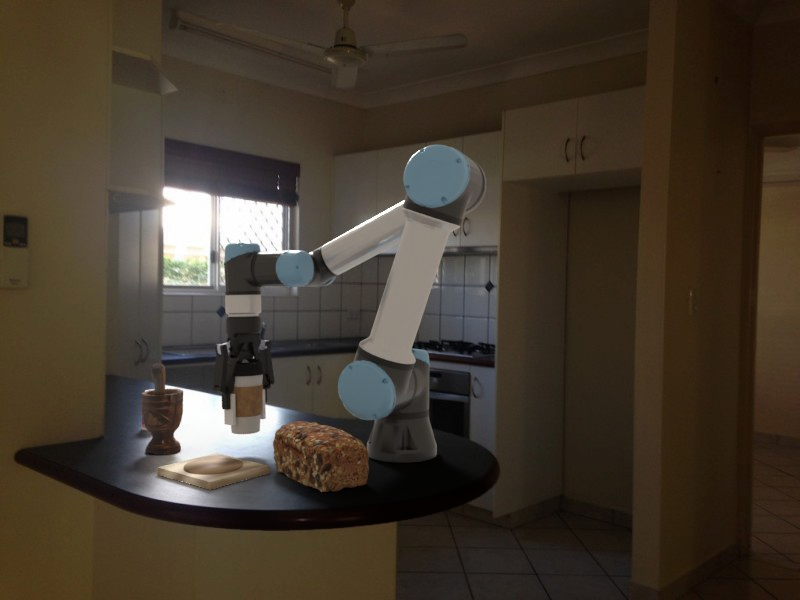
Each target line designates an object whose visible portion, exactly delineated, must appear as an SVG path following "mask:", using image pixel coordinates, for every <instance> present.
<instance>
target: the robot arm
mask: <svg viewBox="0 0 800 600" xmlns="http://www.w3.org/2000/svg"><path fill="white" fill-rule="evenodd" d="M485 174H486V173H485V171H484V170H483V168H482V167H481V165H480V164H479V163H478V162H477V161H475V159H472V158H471V157H469V156H467V155H465V154H464V153H463V152H462V151H461V150H459V149H457V148H454V147H453V146H447V145H444V144H431V145H427V146H425V147H423V148H421V149H419V150H418V151H416V152H415V153H414V154H413V155H412V156H411V157H410V158H409V160H408V161H407V163H406V166H405V168H404V172H403V186H404V189H405V192H406V194H405V197H404V200H402V201H400V202H399V203H397V204H395V205H393V206H391V207H389V208H387V209H386V210H384V211H382V212H380V213H379V214H377V215H375V216H373V217H372V218H370V219H367V220H366V221H364V222H362V223H360V224H359V225H356V226H355V227H354V228H352V229H350V230H348V231H346V232H345V233H343V234H341V235H339V236H338V237H335V238H333V239H332V240H330V241H328V242H327V243H324V244H323V245H322V246H319V247H317V248H315V249H314V250H312V251H309V252H307V251H305V250H299V249H298V250H297V249H287V250H276V251H275V250H274V251H261V246H260V244H258V243H257V242H231V243H228V244H227V245H226V246H225V248H224V262H223V266H224V267H223V268H224V285H225V286H224V287H225V293H224V298H225V299H224V300H225V303H224V305H225V307H224V308H225V314H226V315H228V316H226V317H225V333H226V334H227V338H226V341H225V342H224V343H216V344H214V350H215V355H216V356H215V365H214V375H213V385H212V386H213V387H212V390H213V392H215V393H216V392H217V393H218V394H220V395H221V408H222V410H224V411H223V412H224V414H223V415H224V417H223V418H224V425H227V426H231V425H236V409H235V394H231V393H232V390H233V387H234V383H235V376H234V373H235V367H236V365H240V364H241V363H243V362H244V360H246V361H247V362H249V364H250V363H256V362H259V361H263V366H264V370H265V371H264V373H265V374H263V380H262V384H263V393H262V406H261V417H260V420H265V419H266V418H267V416H266V403H267V402H268V390H269V389H271V386H272V385H274V384H275V376H274V375H275V374H274V369H273V359H272V353H271V349H272V340H265V339H262V338H261V336H260V334H261V332H262V331H263V329H262V327H263V325H262V317H261V316H260V315H259V314H261V313H262V294H261V292H262V288H268V287H269V288H288V287H289V288H293V287H294V288H299V287H303V288H304V287H305V288H306V287H307V288H308V287H310V288H322V287H326V286H329V285H331V284H332V283H333V282H334V281H335V280H336V278H337V277H339V275H341V274H343V273H345V272H347V271H349V270H351V269H352V268H354V267H357V266H359V265H361V264H362V263H364V262H367V261H368V260H369V259H372V258H374V257H375V256H377V255H379V254H381V253H384V252H385V251H387V250H389V249H391V248H393V247H394V246H397V245H398V246H397V249H396V252H395V253H396V254H395V256H394V259H393V262H392V265H391V269H390V272H389V275H388V277H387V280H386V284H385V286H384V287H385V288H384V291H383V294H382V296H381V300H380V303H379V306H378V309H377V312H376V315H375V319H374V322H373V326H372V328H371V331H370V334H369V336H368V337H367V338H365V339H362V340H361V341H360V342H359V343H358V346H357V349H356V353H355V356H354V358H353V361H352V362H350V363H349V364H347V365H346V367H345V368H343V370H342V371H341V373H340V375H339V376H338V377H339V378H338V382H337V392H338V396H339V399H340V400H341V402H342V404H343V406H344V408H345V409H346V410H347V411H348V412H349V413H350V414H351V415H352V416H353V417H355V418H358V419H360V420H363V421H364V420H365V421H373V420H374V421H373V423H372V424H373V425H372V428H371V431H370V433H369V437H368V440H367V443H366V448H367V450H368V453H369V458H370V459H373V460H375V461H376V460H377V461H381V462H387V463H406V464H407V463H420V462H425V461H429V460H432V459H435V458H436V457H437V455H438V453H437V451H438V449H437V448H438V447H437V442H436V439H435V434H434V431H433V428H432V424H431V421H430V371H431V369H430V368H431V363H430V356H429V352H428V351H427V350H425V349H419V348H413V346H414V342H415V339H416V337H417V334H418V330H419V329H420V328H419V327H420V325H421V323H422V322H421V321H422V319H423V316H424V313H425V310H426V306H427V303H428V299H429V296H430V293H431V291H432V287H433V285H434V282H435V279H436V276H437V273H438V270H439V266H440V263H441V260H442V257H443V255H444V253H445V252H444V251H445V249H446V245H447V243H448V239H449V236H450V234H451V233H452V232H455V231H456V230H458V229H460V228H461V226H462V222H463V221H464V220H463V219H464V216H466V215H467V214H469V213H471V212H472V211H474V210H476V208H478V206H480V204H481V203H482V201H483V199H484V197H485V196H486V192H487V178H486V175H485Z"/></svg>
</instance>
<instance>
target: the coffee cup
mask: <svg viewBox="0 0 800 600" xmlns="http://www.w3.org/2000/svg"><path fill="white" fill-rule="evenodd" d="M264 371H265V370H264V366H263V361H259V362H256V363H250V364H249V362H248V361H247V362H245V361H243V362H242V363H241V364H240V365H236V367H235V373H234V376H235V383H234V387H233V390H232V393H231V394H235V409H236V425H230V430H231V433H232V434H234V435H251V434H256V433H259V432H260V431H261V419H260V417H261V406H262V393H263V384H262V380H263V374H265V373H264Z"/></svg>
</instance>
